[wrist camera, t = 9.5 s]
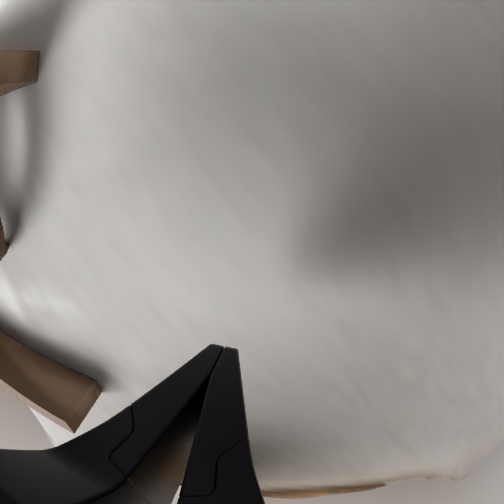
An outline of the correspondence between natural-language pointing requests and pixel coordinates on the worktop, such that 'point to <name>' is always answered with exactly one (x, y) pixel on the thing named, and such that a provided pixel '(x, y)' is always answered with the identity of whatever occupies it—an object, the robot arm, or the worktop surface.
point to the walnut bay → (16, 354)
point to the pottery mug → (2, 242)
